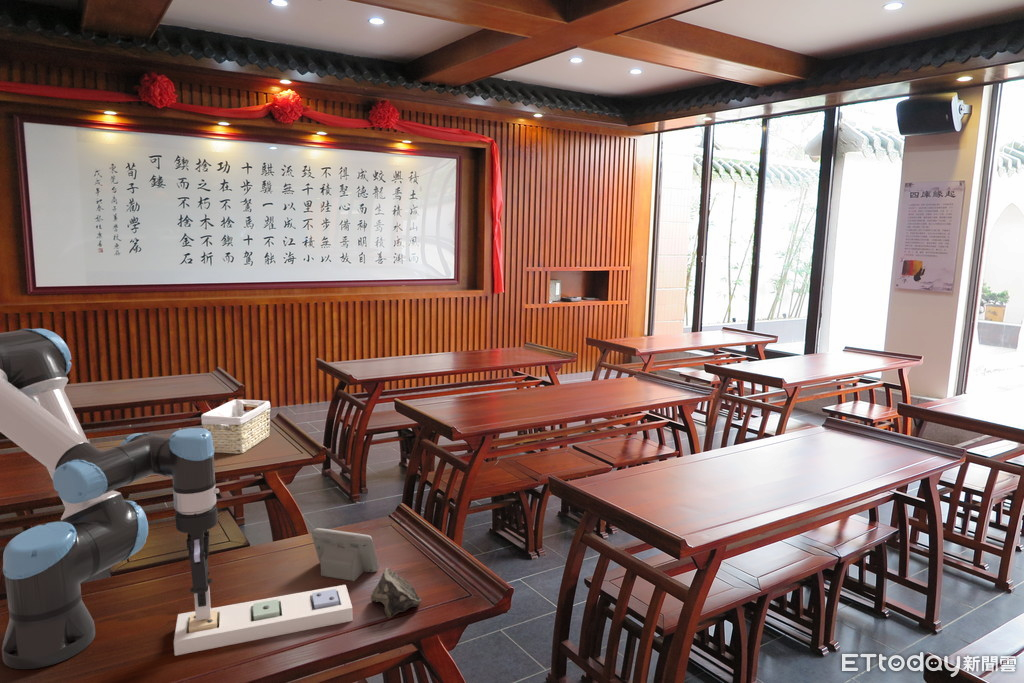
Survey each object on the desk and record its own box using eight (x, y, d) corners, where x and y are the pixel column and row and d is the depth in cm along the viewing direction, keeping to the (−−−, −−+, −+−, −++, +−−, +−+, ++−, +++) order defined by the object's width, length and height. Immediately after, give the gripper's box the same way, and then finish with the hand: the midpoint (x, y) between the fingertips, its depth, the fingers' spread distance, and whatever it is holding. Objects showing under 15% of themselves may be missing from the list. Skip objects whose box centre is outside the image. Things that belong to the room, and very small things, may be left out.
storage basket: (242, 456, 243) (240, 416, 241) (200, 453, 245) (198, 414, 243) (273, 436, 267) (272, 400, 264) (235, 434, 269) (233, 398, 266)
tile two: (315, 620, 142) (314, 604, 141) (312, 608, 147) (312, 592, 146) (339, 616, 144) (338, 600, 143) (336, 603, 148) (335, 588, 148)
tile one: (254, 632, 138) (253, 615, 137) (253, 619, 142) (253, 603, 142) (280, 627, 139) (279, 611, 139) (278, 614, 144) (278, 598, 143)
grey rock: (433, 602, 149) (416, 573, 144) (403, 635, 144) (385, 606, 139) (403, 582, 156) (387, 554, 151) (374, 613, 151) (356, 585, 146)
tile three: (189, 644, 133) (188, 627, 132) (191, 630, 138) (190, 614, 137) (217, 639, 135) (216, 622, 134) (218, 626, 140) (217, 609, 139)
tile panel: (174, 655, 130) (173, 641, 129) (179, 627, 139) (178, 614, 139) (352, 620, 142) (352, 607, 142) (346, 596, 152) (345, 584, 151)
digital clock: (383, 571, 164) (382, 530, 162) (359, 588, 156) (358, 545, 154) (331, 555, 171) (330, 516, 169) (305, 571, 163) (304, 530, 161)
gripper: (215, 517, 127) (222, 631, 131) (217, 492, 139) (224, 597, 143) (171, 523, 124) (180, 639, 128) (177, 497, 136) (185, 604, 140)
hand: (203, 617), depth 136 cm, fingers closed
